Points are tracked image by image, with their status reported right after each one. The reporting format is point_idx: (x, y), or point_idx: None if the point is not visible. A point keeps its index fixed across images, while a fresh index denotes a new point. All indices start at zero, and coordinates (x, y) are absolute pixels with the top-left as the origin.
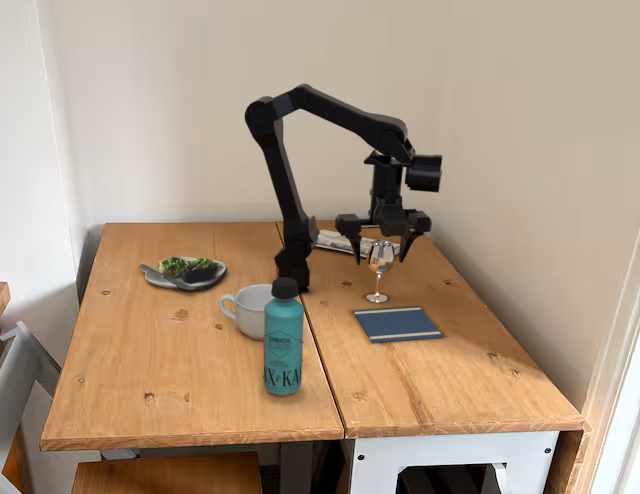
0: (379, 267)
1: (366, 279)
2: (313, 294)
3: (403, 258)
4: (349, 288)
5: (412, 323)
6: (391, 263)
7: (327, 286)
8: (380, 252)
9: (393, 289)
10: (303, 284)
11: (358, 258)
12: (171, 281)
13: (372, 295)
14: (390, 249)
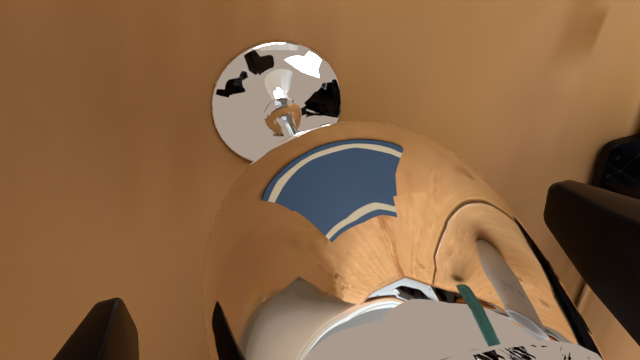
0: (391, 130)
1: None
2: (586, 129)
3: (79, 339)
4: None
5: None
6: (249, 197)
7: None
8: (490, 262)
9: (164, 230)
10: (636, 180)
11: (637, 207)
12: None
13: (310, 112)
14: (328, 356)
